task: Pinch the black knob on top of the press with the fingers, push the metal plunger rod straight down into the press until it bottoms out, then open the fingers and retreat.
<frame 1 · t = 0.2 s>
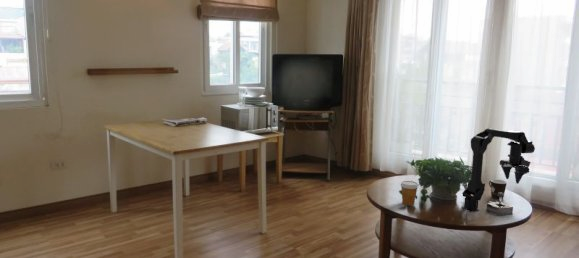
hand: (512, 181, 262), 14 cm above the table, fingers open, 9 cm apart
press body: (499, 212, 252), on the table
beer cup: (408, 204, 263), on the table
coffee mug: (496, 197, 279), on the table
plunger: (500, 199, 251), point 7 cm above the table, slide at 0.0 cm
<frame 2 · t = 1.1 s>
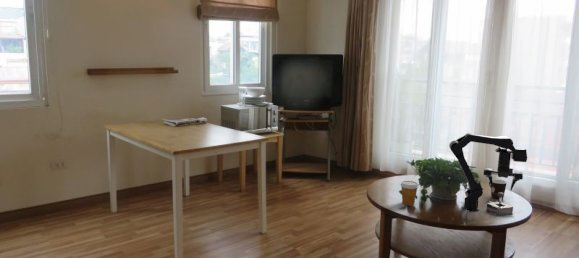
hand: (501, 189, 251), 12 cm above the table, fingers open, 9 cm apart
nothing on the table moved.
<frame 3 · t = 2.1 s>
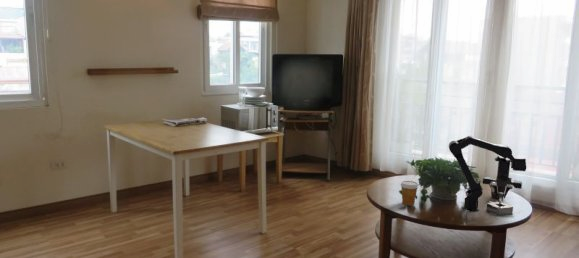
hand: (500, 198, 251), 8 cm above the table, fingers closed on plunger, 3 cm apart
plunger: (500, 199, 251), point 7 cm above the table, slide at 0.0 cm, touching gripper
everything else where it was.
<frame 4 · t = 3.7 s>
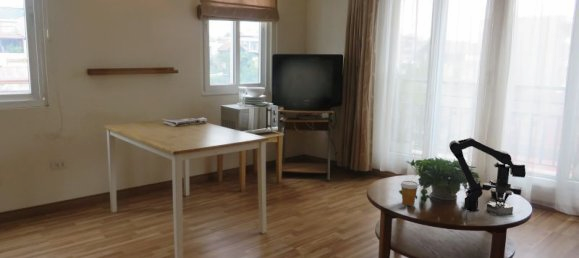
hand: (500, 204, 252), 4 cm above the table, fingers closed on plunger, 3 cm apart
plunger: (499, 204, 252), point 4 cm above the table, slide at 3.0 cm, touching gripper, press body
everything else where it was.
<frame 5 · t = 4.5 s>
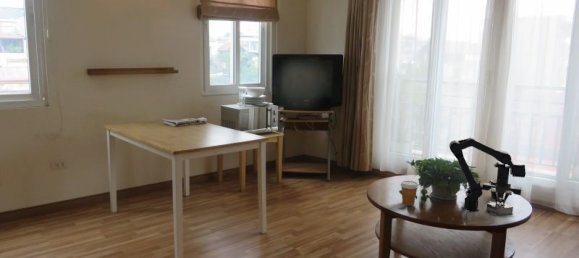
hand: (500, 204, 252), 4 cm above the table, fingers closed on plunger, 3 cm apart
plunger: (499, 204, 252), point 4 cm above the table, slide at 3.0 cm, touching gripper, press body
everything else where it was.
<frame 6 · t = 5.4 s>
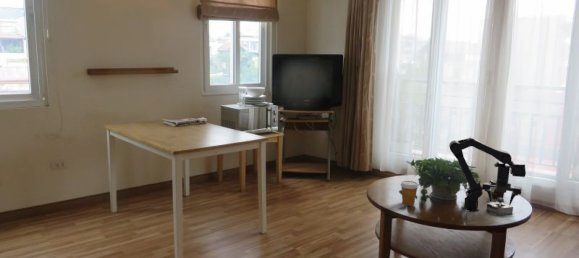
hand: (500, 203, 252), 5 cm above the table, fingers open, 9 cm apart
plunger: (499, 204, 252), point 4 cm above the table, slide at 3.0 cm, touching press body
everything else where it was.
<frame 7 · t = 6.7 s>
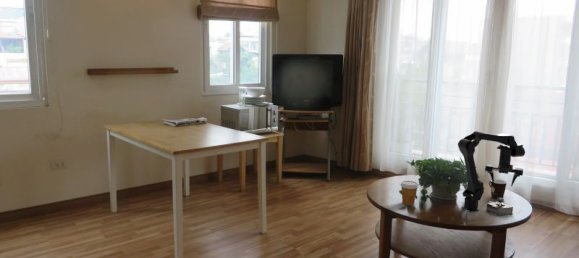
hand: (502, 185, 259), 13 cm above the table, fingers open, 9 cm apart
nothing on the table moved.
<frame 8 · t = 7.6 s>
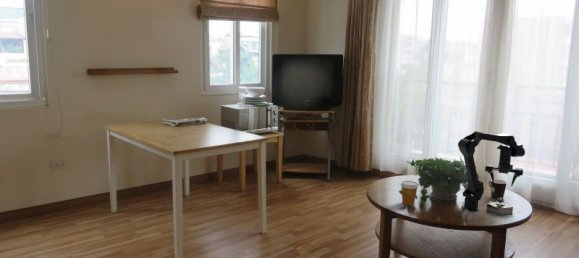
hand: (502, 185, 259), 12 cm above the table, fingers open, 9 cm apart
nothing on the table moved.
at the end: plunger slide at 3.0 cm; the gripper is holding nothing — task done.
